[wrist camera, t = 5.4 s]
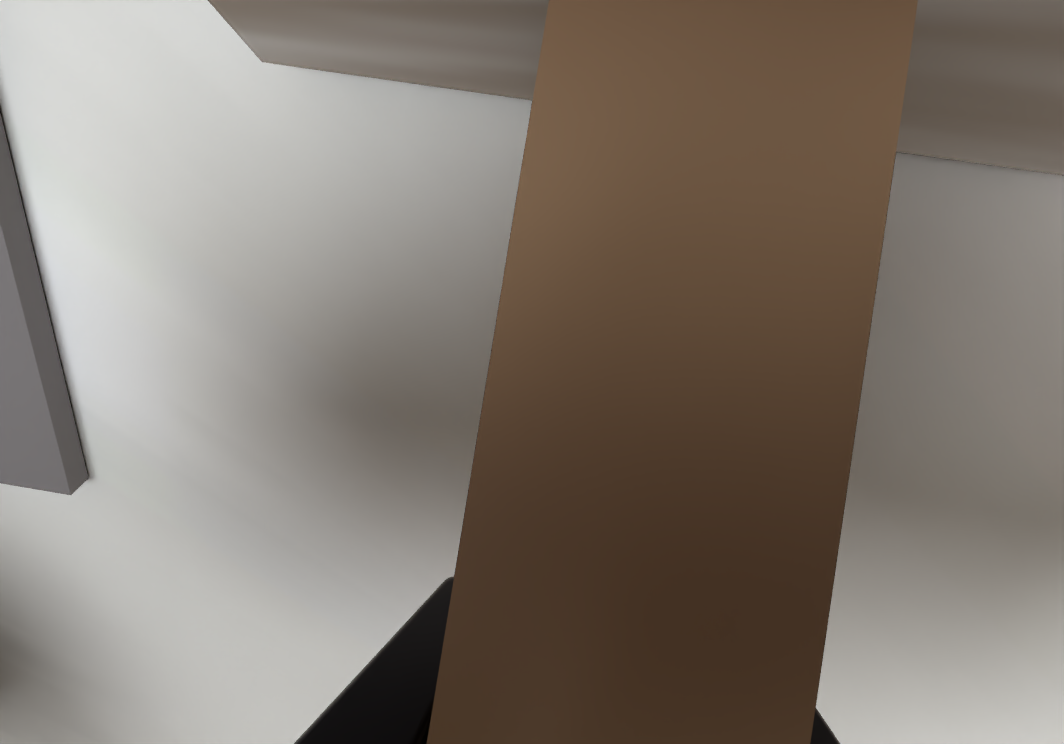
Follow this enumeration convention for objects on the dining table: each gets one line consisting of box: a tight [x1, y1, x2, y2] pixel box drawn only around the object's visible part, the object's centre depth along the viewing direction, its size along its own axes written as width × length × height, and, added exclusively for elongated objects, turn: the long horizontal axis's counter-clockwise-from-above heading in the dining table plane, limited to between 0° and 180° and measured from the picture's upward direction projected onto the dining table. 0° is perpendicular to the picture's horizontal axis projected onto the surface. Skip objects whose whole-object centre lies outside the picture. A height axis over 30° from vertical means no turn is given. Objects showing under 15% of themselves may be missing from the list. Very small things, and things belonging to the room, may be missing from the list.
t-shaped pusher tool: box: [208, 0, 1064, 744], centre depth 8 cm, size 12×12×6 cm
